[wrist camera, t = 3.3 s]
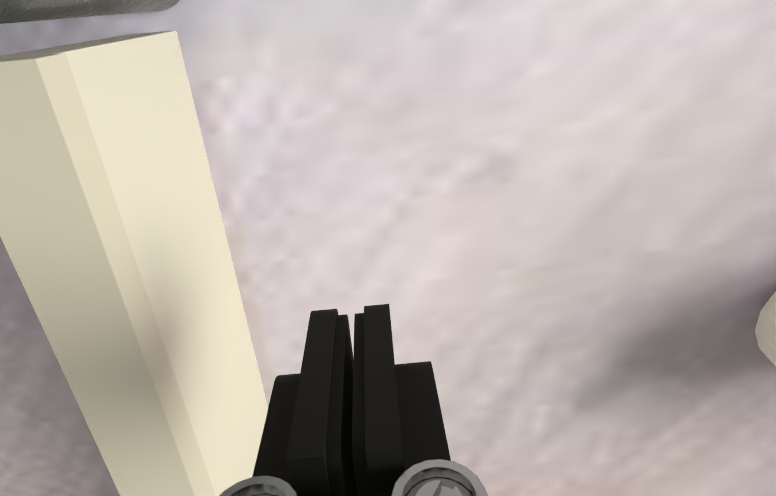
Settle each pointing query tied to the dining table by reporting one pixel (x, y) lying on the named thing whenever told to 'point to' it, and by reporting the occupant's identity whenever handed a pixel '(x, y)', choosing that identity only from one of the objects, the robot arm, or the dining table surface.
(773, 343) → the white short cylinder
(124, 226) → the gate
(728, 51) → the dining table surface
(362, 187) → the dining table surface
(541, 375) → the dining table surface
